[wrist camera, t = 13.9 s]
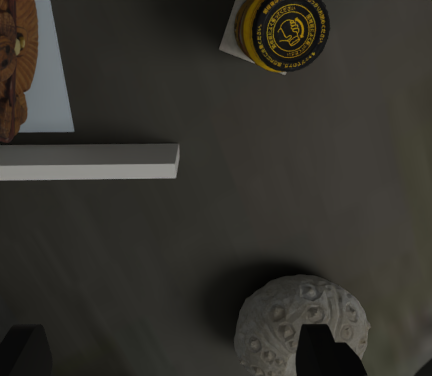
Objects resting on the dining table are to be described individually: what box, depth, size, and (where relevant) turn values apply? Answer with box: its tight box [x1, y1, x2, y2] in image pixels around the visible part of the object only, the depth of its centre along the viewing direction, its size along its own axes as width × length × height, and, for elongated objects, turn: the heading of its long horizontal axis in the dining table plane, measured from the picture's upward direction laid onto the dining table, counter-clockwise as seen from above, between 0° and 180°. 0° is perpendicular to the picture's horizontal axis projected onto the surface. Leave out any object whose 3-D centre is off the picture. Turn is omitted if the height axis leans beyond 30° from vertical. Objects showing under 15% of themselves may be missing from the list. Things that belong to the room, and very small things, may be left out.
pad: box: [19, 0, 74, 132], centre depth 33 cm, size 17×7×1 cm, turn 0°
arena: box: [0, 144, 179, 180], centre depth 29 cm, size 30×26×6 cm
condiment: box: [219, 0, 330, 75], centre depth 28 cm, size 7×8×12 cm
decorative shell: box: [234, 274, 371, 376], centre depth 46 cm, size 18×18×10 cm
